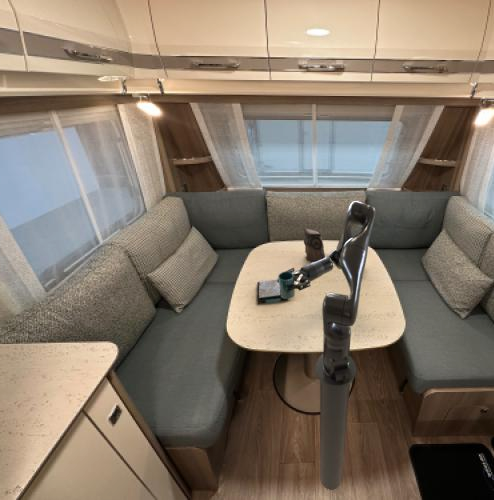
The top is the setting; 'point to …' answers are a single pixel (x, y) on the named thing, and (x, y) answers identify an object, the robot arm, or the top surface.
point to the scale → (268, 292)
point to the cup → (286, 284)
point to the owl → (313, 245)
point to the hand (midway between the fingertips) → (282, 285)
